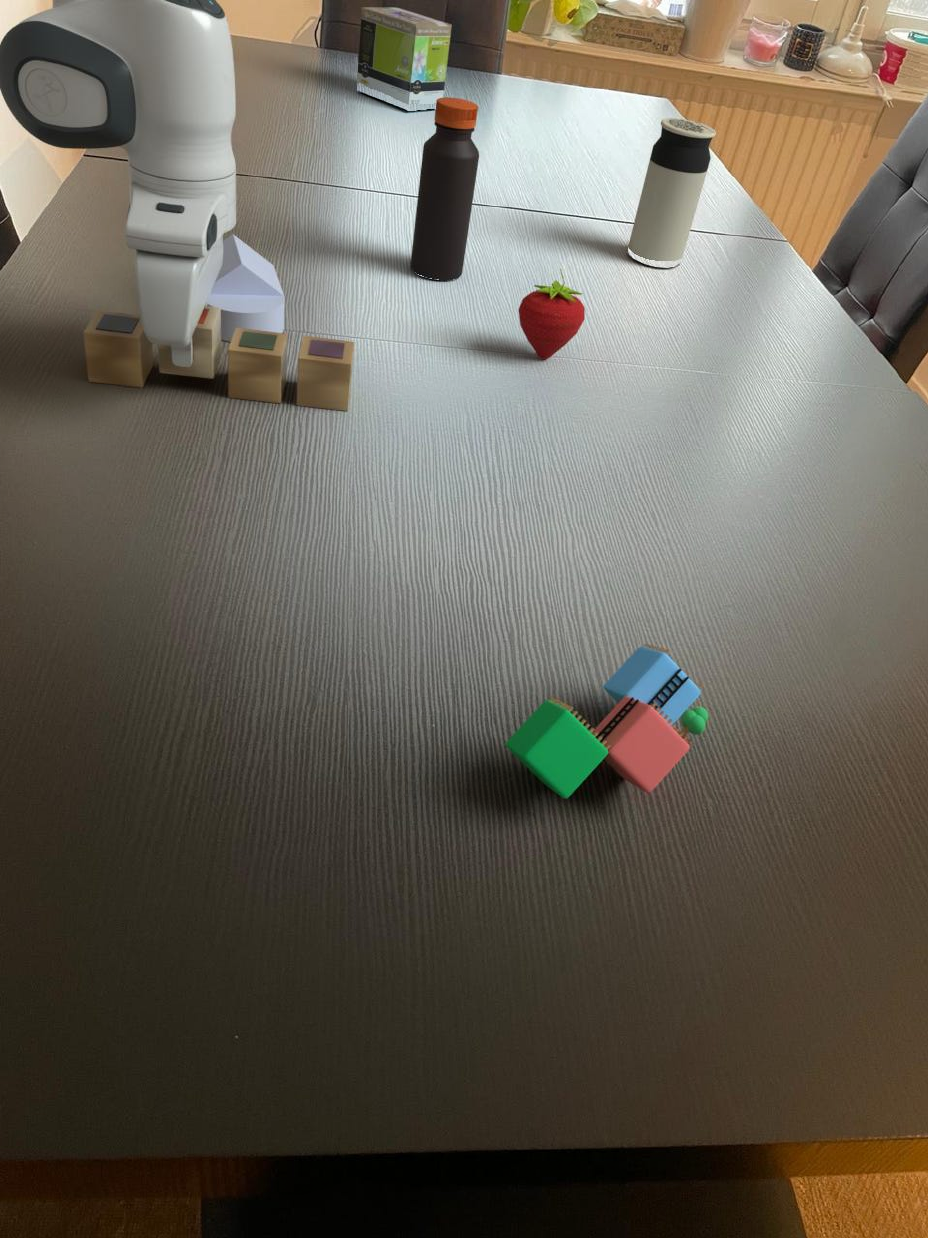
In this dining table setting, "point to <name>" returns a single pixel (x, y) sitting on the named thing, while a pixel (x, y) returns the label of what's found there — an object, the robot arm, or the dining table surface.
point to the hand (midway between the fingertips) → (189, 348)
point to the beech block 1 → (117, 349)
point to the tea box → (403, 54)
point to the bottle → (446, 191)
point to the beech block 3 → (324, 373)
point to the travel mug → (671, 190)
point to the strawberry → (551, 317)
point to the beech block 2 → (257, 365)
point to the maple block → (198, 348)
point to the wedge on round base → (247, 291)
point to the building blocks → (616, 728)
